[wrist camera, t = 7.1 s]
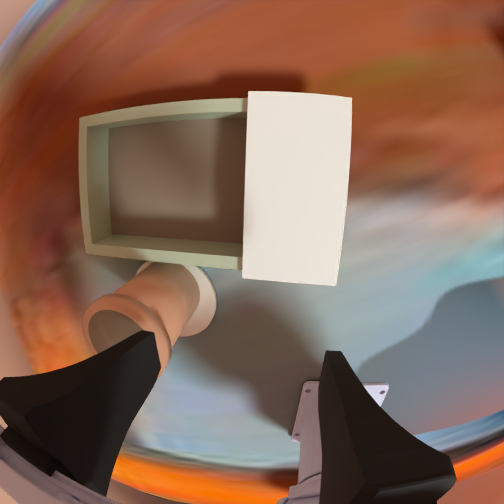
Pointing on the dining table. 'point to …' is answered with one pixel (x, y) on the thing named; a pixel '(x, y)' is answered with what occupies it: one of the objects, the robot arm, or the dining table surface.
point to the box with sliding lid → (221, 184)
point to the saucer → (206, 303)
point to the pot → (144, 309)
